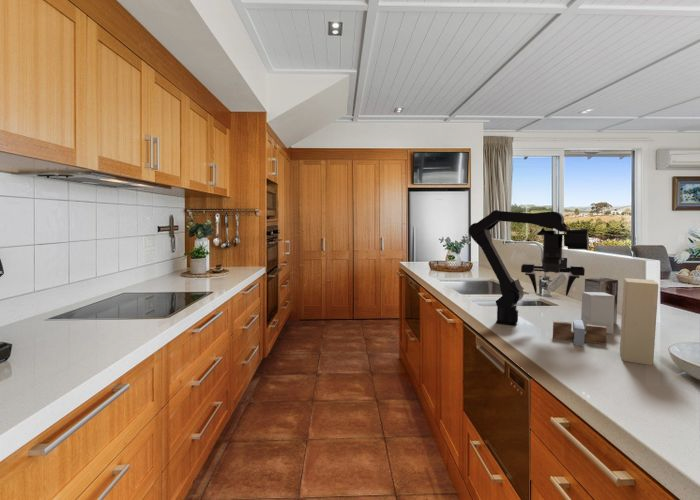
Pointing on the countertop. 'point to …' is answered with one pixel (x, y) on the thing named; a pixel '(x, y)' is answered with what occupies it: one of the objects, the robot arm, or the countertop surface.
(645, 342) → the beige tall block
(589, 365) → the countertop surface
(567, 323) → the walnut block
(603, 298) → the supplement box
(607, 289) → the coffee box
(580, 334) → the pale blue pillar
